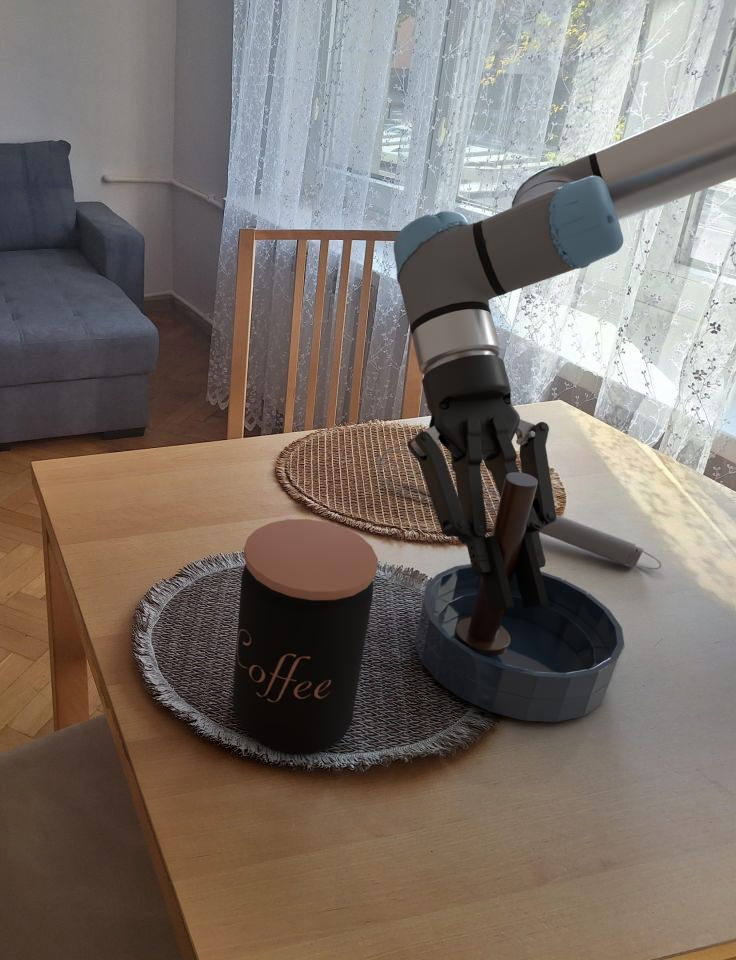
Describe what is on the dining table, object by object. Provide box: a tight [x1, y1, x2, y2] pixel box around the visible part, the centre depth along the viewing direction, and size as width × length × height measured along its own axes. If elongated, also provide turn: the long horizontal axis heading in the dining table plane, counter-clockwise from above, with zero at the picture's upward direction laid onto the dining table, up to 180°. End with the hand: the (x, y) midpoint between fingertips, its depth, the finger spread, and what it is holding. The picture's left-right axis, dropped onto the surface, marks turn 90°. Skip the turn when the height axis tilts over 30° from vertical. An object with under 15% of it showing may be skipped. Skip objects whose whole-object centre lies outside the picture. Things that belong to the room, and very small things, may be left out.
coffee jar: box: [232, 518, 379, 756], centre depth 74 cm, size 11×11×18 cm
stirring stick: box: [454, 472, 538, 656], centre depth 80 cm, size 5×5×18 cm
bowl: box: [414, 563, 626, 723], centre depth 83 cm, size 17×17×6 cm
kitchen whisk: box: [376, 444, 662, 570], centre depth 105 cm, size 6×34×6 cm, turn 48°
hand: (519, 607), depth 77 cm, fingers closed on stirring stick, 3 cm apart
